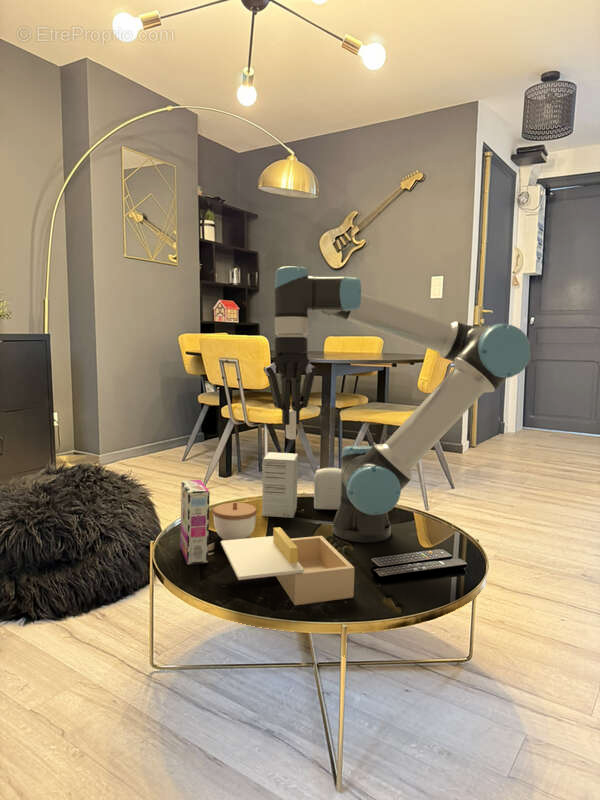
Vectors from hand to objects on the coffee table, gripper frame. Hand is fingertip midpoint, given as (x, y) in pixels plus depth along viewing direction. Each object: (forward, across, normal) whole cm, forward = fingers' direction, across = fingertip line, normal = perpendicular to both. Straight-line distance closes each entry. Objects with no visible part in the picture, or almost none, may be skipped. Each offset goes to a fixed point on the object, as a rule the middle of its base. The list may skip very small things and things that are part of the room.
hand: (290, 438), depth 124 cm
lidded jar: (+27, +10, -12) cm, 31 cm away
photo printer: (+28, -24, -27) cm, 45 cm away
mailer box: (+27, +3, +17) cm, 32 cm away
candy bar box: (+27, +22, -5) cm, 35 cm away
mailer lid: (+21, +13, +16) cm, 29 cm away
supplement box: (+27, -8, -28) cm, 40 cm away
